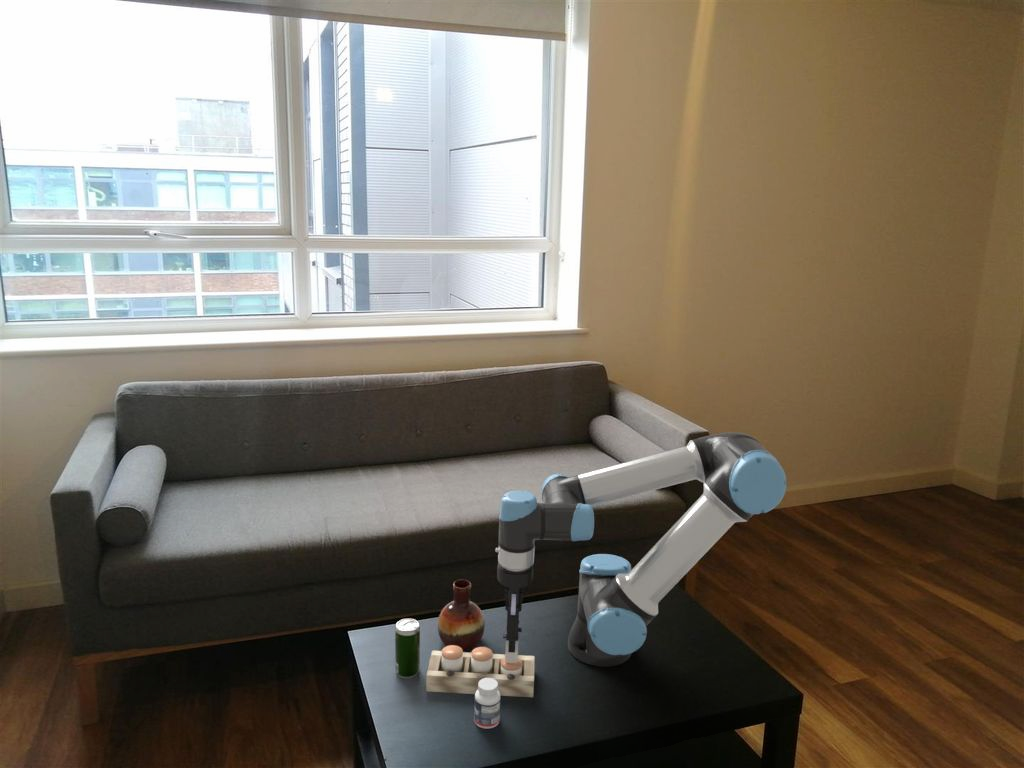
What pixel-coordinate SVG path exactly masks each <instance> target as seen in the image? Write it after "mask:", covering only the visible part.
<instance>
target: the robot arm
mask: <svg viewBox="0 0 1024 768" xmlns="http://www.w3.org/2000/svg"><path fill="white" fill-rule="evenodd" d="M694 480H697V481H699V482H701V483H703V493H702V494H701V495H700V497H699V498H698V499H696V501H695V502H694V503H693V504H692V505H691V506H690V507H689V508H688V509H687V511H686V512H684V514H683V515H682V516H681V517H679V519H678V520H677V521H676V522H675V523H674V524H673V525H672V526H671V528H670V529H668V530H667V532H666V533H665V534H664V535H663V536H662V537H661V538H660V539H659V540H658V541H657V542H656V543H655V545H653V546H652V547H651V548H650V549H649V551H648V552H646V554H645V555H644V556H643V557H642V558H641V559H640V561H638V563H637V564H636V565H635V566H634V567H632V564H631V563H630V562H629V561H628V560H627V559H625V558H624V557H622V556H618V555H614V554H608V553H597V554H592V555H588V556H586V557H584V558H583V559H582V560H581V561H580V562H581V563H580V569H579V570H578V571H579V582H578V598H577V599H578V600H577V613H576V614H577V615H576V617H575V619H574V622H573V624H572V627H571V629H570V631H569V634H568V638H567V639H568V640H567V648H568V651H569V653H570V654H571V655H572V656H573V657H575V658H576V660H578V661H580V662H582V663H584V664H587V665H591V666H594V667H606V668H607V667H615V666H618V665H621V664H625V662H626V661H628V660H629V659H630V658H631V656H632V654H633V653H634V652H637V651H638V650H639V649H640V648H641V647H642V646H643V644H644V643H645V641H646V638H647V633H648V630H647V629H648V628H647V626H648V625H649V624H650V623H651V622H652V621H653V620H654V619H655V618H656V617H657V615H658V614H659V603H660V602H661V600H662V599H663V598H664V597H665V596H667V595H668V593H669V592H670V591H671V590H672V589H673V588H674V587H675V585H676V586H677V584H678V583H679V582H680V581H681V579H682V578H684V576H685V575H687V574H688V572H690V570H691V569H692V568H694V566H695V565H696V564H697V563H698V562H699V561H700V560H701V558H703V557H704V555H706V553H707V552H709V550H711V548H712V547H713V546H715V544H716V543H717V542H718V541H719V540H720V539H721V538H722V537H723V535H725V533H727V532H728V530H730V528H731V527H732V526H733V525H734V524H735V523H744V522H748V521H749V520H750V518H752V516H754V515H760V514H762V513H763V514H765V513H768V512H770V511H772V510H773V509H775V508H776V507H777V506H778V505H779V504H780V503H781V502H782V499H783V498H784V496H785V494H786V490H787V476H786V472H785V470H784V468H783V467H782V465H781V464H780V462H779V460H778V459H777V458H776V457H775V456H774V455H773V454H772V453H770V452H769V450H767V449H766V448H765V446H763V445H762V444H761V442H760V441H759V440H758V439H757V438H755V437H754V436H751V435H749V434H748V433H745V432H744V433H743V432H738V431H737V432H736V431H735V432H734V431H728V432H727V431H726V432H721V433H715V434H710V435H709V434H708V435H705V436H702V437H698V438H694V439H690V440H689V442H688V443H687V444H686V446H682V447H679V448H674V449H670V450H667V451H663V452H660V453H656V454H652V455H648V456H645V457H640V458H637V459H632V460H630V461H626V462H623V463H618V464H615V465H610V466H607V467H603V468H600V469H596V470H592V471H588V472H584V473H581V474H577V475H572V476H568V475H566V474H561V473H554V474H552V475H549V476H548V477H547V478H546V479H545V480H544V481H543V483H542V487H541V501H542V502H541V503H540V502H538V500H537V496H536V495H535V494H534V493H532V492H530V491H524V490H517V489H516V490H511V491H507V492H506V493H504V494H503V495H502V497H501V499H500V507H499V515H498V516H499V517H498V518H499V519H498V520H499V521H498V523H499V524H498V547H495V553H498V555H497V561H498V563H497V569H496V570H497V574H496V575H497V576H496V579H497V581H498V583H499V584H501V585H503V586H504V600H505V607H504V609H505V611H506V633H502V634H503V635H502V638H503V639H505V652H504V653H505V663H515V664H517V661H518V655H519V639H520V635H519V634H520V633H522V632H523V631H522V630H523V628H522V627H519V624H520V619H519V617H520V612H522V609H523V600H524V589H525V587H528V586H529V585H531V583H533V578H534V562H535V548H536V545H535V541H543V540H544V541H564V542H565V541H569V542H570V541H571V542H577V541H589V540H591V539H592V538H593V535H594V530H595V514H594V513H595V512H594V509H593V507H594V506H598V505H600V504H605V503H609V502H613V501H617V500H621V499H625V498H628V497H632V496H637V495H641V494H644V493H648V492H651V491H655V490H659V489H662V488H663V489H664V488H667V487H670V486H675V485H678V484H683V483H687V482H689V481H694Z"/></svg>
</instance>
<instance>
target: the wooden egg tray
mask: <svg viewBox="0 0 1024 768" xmlns="http://www.w3.org/2000/svg"><path fill="white" fill-rule="evenodd" d="M471 654H472V652H466V651H463V669H462V672H453V671H442V670H441V667H442V650H431V654H430V657H429V662H428V663H429V664H428V665H427V666H428V667H427V672H426V679H425V680H426V684H425V685H426V686H425V687H426V689H425V691H426V692H430V693H432V692H433V693H449V694H469V695H475V693H476V691H477V690H478V683H479V681H480V680H481V679H484V678H492V679H495V680H496V681H497V683H498V691H499V692H500V697H501V696H503V697H504V696H505V697H520V698H521V697H522V698H534V689H535V688H534V687H535V655H522V654H521V655H520V654H518V658H520V659H521V660H522V676H520V675H513V674H509V675H502V674H501V660H502V659H503V658H504V657H505V654H503V653H502V654H501V653H493V658H492V673H491V674H484V673H471Z"/></svg>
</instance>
